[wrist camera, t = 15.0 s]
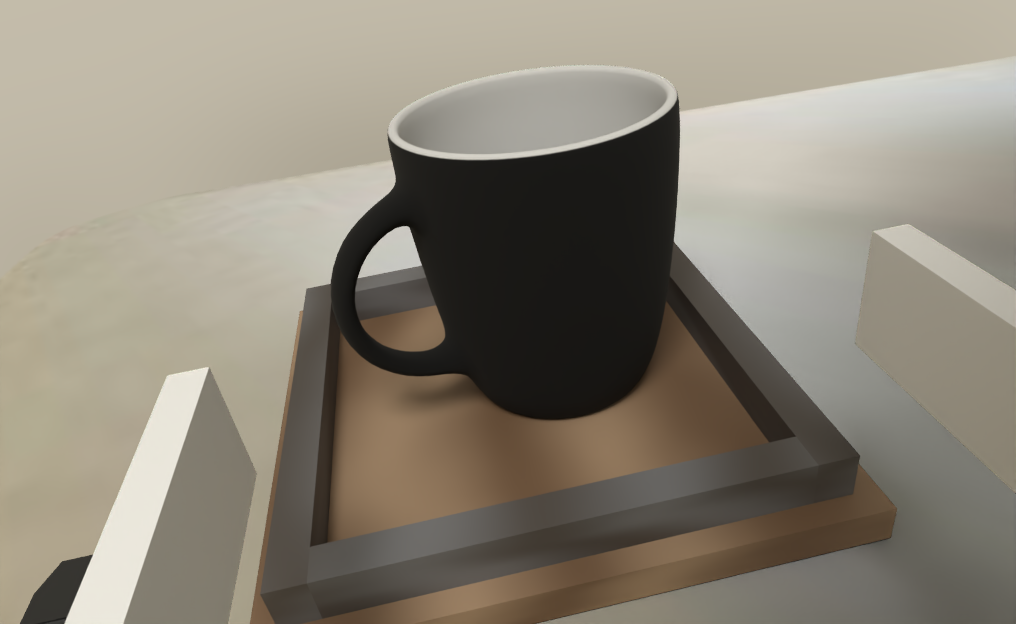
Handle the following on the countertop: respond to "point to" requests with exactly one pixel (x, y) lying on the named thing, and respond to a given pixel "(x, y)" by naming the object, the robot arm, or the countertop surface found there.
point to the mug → (532, 233)
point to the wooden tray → (542, 475)
